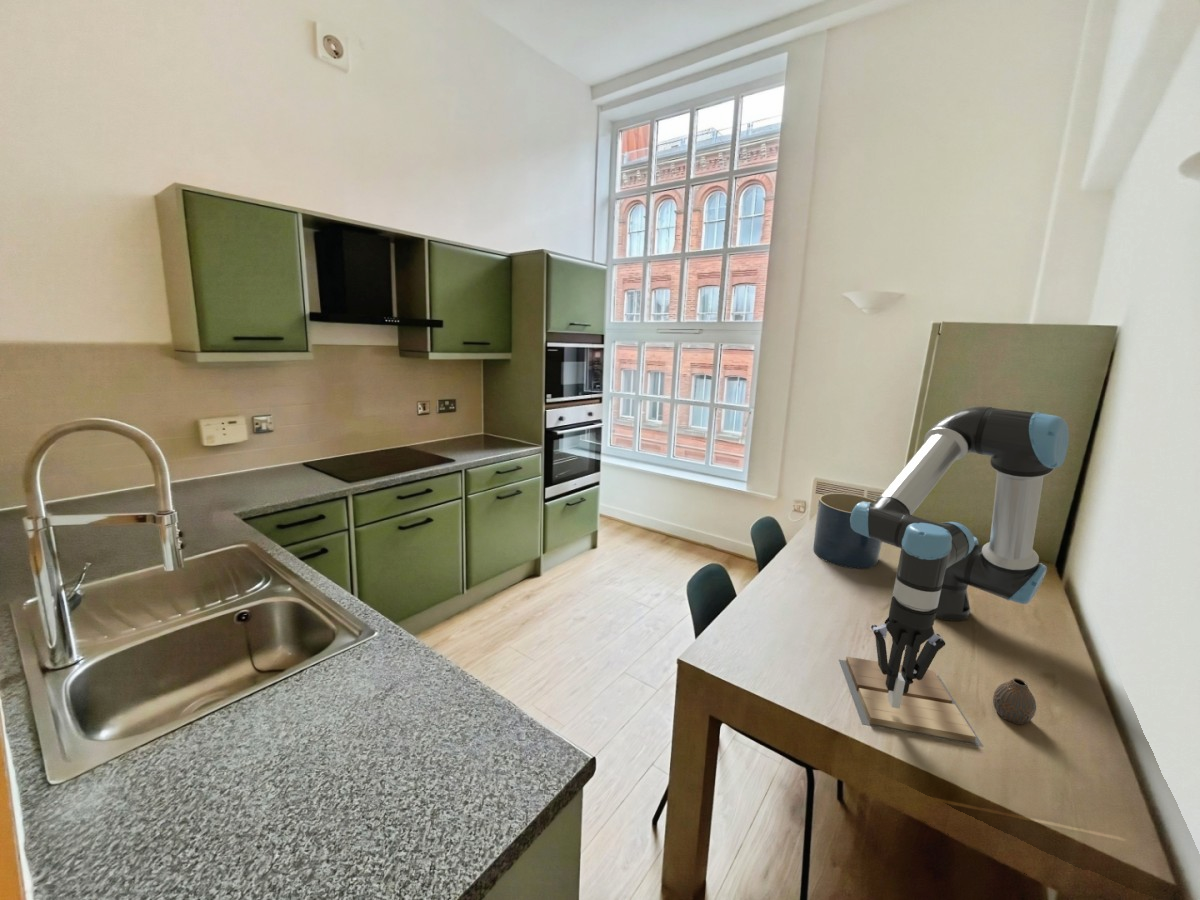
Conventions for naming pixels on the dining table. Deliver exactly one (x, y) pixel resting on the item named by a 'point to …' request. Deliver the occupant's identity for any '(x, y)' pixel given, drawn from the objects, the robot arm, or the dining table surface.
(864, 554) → the planter
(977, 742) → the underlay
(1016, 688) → the vase
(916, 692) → the laid board
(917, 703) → the plank
